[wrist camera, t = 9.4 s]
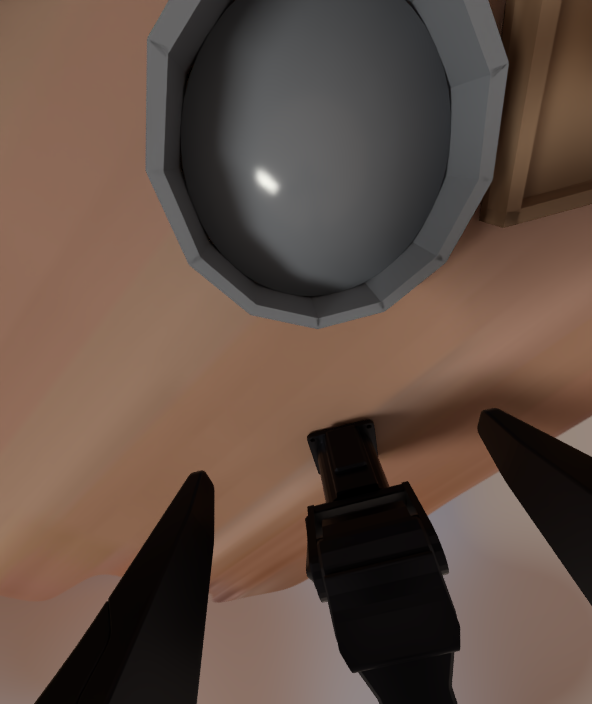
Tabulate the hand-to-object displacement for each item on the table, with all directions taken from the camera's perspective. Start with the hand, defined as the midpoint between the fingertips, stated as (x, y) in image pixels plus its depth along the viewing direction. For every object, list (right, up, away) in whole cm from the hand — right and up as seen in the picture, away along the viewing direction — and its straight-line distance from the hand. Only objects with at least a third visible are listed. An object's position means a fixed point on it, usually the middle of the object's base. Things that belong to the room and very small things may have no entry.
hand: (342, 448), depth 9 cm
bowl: (0, +13, +7) cm, 15 cm away
